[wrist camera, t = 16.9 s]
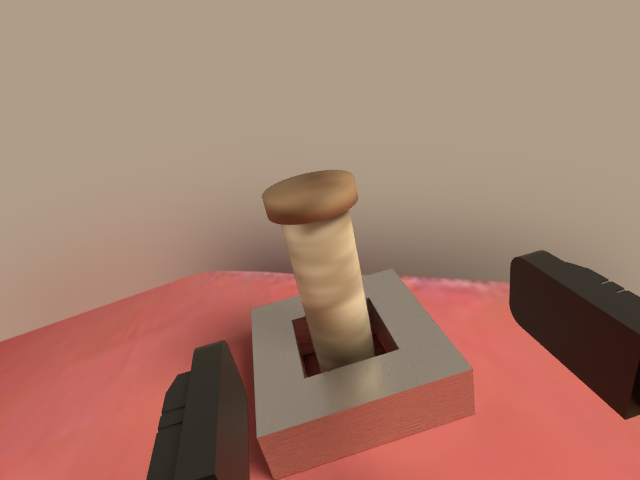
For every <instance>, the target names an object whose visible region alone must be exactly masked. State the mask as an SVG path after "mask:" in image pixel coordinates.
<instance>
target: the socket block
mask: <svg viewBox="0 0 640 480" xmlns="http://www.w3.org/2000/svg"><path fill="white" fill-rule="evenodd" d="M362 283H363V288H364V294H365V299H366V305H367V310H368V316H369V321H370V326H371V332H372V335H373V334H376V335H377V337H378V339H379V341H380V343H381V345H382V347H383V348H384V350H385V352H386V354H382V355H379V356H376V357H373V358H369V359H366V360H363V361H360V362H357V363H353V364H350V365H347V366H344V367H340V368H337V369H334V370H331V371H327V372H324V373H321V374H318V375H314V376H311V377H308V378H307V374H306V370H305V365H304V361H303V356H304V355H307V354H311V353H314V352H315V349H314V346H313V342H312V338H311V334H310V331H309V327H308V323H307V320H306V316H305V312H304V308H303V305H302V301H301V297H300V295H298V296H295V297H291V298H288V299H285V300H281V301H278V302H274V303H271V304H267V305H264V306H260V307H257V308H253V309H251V322H252V344H253V366H254V388H255V411H256V433H257V440H258V442H259V445H260V447H261V450H262V452H263V454H264V457H265V459H266V462H267V464H268V466H269V469H270V471H271V474H272V476H273V478H274V480H276V479H279V478H282V477H285V476H288V475H291V474H294V473H297V472H300V471H303V470H306V469H309V468H312V467H315V466H318V465H321V464H324V463H327V462H330V461H333V460H336V459H339V458H342V457H345V456H348V455H351V454H354V453H357V452H360V451H363V450H366V449H369V448H372V447H375V446H378V445H381V444H385V443H388V442H391V441H394V440H397V439H400V438H403V437H406V436H409V435H412V434H415V433H418V432H421V431H424V430H427V429H430V428H433V427H436V426H439V425H442V424H445V423H448V422H451V421H454V420H457V419H460V418H463V417H466V416H469V415H472V414H475V406H474V385H473V369H472V367H471V366H470V365H469V364H468V362H467V361H466V360H465V359H464V357H463V356H462V355H461V354H460V352H459V351H458V350H457V349H456V347H455V346H454V345H453V344H452V342H451V341H450V340H449V339H448V337H447V336H446V335H445V334H444V332H443V331H442V330H441V329H440V327H439V326H438V325H437V324H436V322H435V321H434V320H433V319H432V317H431V316H430V315H429V314H428V312H427V311H426V310H425V309H424V307H423V306H422V305H421V304H420V303H419V301H418V300H417V299H416V298H415V296H414V295H413V294H412V293H411V291H410V290H409V289H408V288H407V286H406V285H405V284H404V283H403V281H402V280H401V279H400V278H399V276H398V275H397V274H396V273H395V271H394V270H393V269H389V270H385V271H382V272H378V273H375V274H371V275H368V276H364V277H362Z"/></svg>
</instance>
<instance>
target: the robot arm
mask: <svg viewBox="0 0 640 480" xmlns="http://www.w3.org/2000/svg"><path fill="white" fill-rule="evenodd" d="M510 268H511V269H510V299H509V305H510V310H511V313H512V315H513V317H514V319H515V320H516V322H517V323H518V324H519V325H520V326H521V327H522V328H523V329H524V330H525V331H526V332H528V333H529V334H530V335H531V336H532V337H533V338H534V339H535V340H537V341H538V342H539V343H540V344H541V345H542V346H543V347H544V348H545V349H547V350H548V351H549V352H550V353H551V354H552V355H553V356H554V357H556V358H557V359H558V360H559V361H560V362H561V363H562V364H563V365H564V366H566V367H567V368H568V369H569V370H570V371H571V372H572V373H573V374H574V375H576V376H577V377H578V378H579V379H580V380H581V381H582V382H583V383H585V384H586V385H587V386H588V387H589V388H590V389H591V390H592V391H593V392H595V393H596V394H597V395H598V396H599V397H600V398H601V399H602V400H604V401H605V402H606V403H607V404H608V405H609V406H610V407H611V408H612V409H614V410H615V411H616V412H617V413H618V414H619V415H620V416H621V417H622V418H624V419H625V420H626V419H629V418H632V417H635V416H638V415H640V297H639V296H637V295H635V294H633V293H632V292H630V291H625V290H624V288H623V287H621V286H619V285H617V284H615V283H614V282H609V281H608V279H606V278H605V277H603V276H601V275H599V274H598V273H596V272H594V271H592V270H590V269H588V268H584V267H581V266H578V265H575V264H571V263H568V262H564V261H562V260H560V259H559V258H557V257H555V256H553V255H552V254H550V253H548V252H546V251H542V250H540V251H536V252H533V253H529V254H526V255H523V256H519V257H515V258H514V259H513V260H512V262H511V267H510ZM161 413H162V416H161V417H160V421H159V426H158V433H157V435H156V439H155V444H154V448H153V452H152V457H151V461H150V466H149V470H148V475H147V479H146V480H250V475H249V441H248V407H247V399H246V393H245V389H244V385H243V382H242V380H241V377H240V375H239V372H238V370H237V367H236V364H235V362H234V359H233V357H232V354H231V352H230V349H229V347H228V344H227V343H226V341H225V340H223V341H219V342H216V343H212V344H209V345H205V346H202V347H198V348H196V349H195V350H194V354H193V360H192V366H191V371H189V372H186V373H182V374H179V375H177V377H176V378H175V380H174V381H173V383H172V385H171V386H170V388H169V389H168V391H167V392H166V395H165V399H164V403H163V408H162V412H161Z"/></svg>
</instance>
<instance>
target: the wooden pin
mask: <svg viewBox="0 0 640 480" xmlns="http://www.w3.org/2000/svg"><path fill="white" fill-rule="evenodd" d="M262 198H263V202H264V206H265V209H266V213H267V216H268V219H269V220H270V221H272V222H274V223H277V224H281V227H282V231H283V234H284V238H285V241H286V245H287V249H288V253H289V257H290V260H291V264H292V268H293V271H294V275H295V279H296V282H297V286H298V290H299V294H300V297H301V301H302V305H303V308H304V312H305V316H306V320H307V323H308V327H309V331H310V334H311V338H312V342H313V346H314V349H315V353H316V357H317V360H318V364H319V368H320V372H321V373H324V372H327V371H331V370H334V369H337V368H340V367H344V366H347V365H350V364H353V363H357V362H360V361H363V360H366V359H369V358H373V357H376V354H375V348H374V343H373V337H372V332H371V326H370V321H369V316H368V310H367V305H366V299H365V294H364V288H363V283H362V277H361V272H360V266H359V261H358V255H357V250H356V245H355V239H354V234H353V228H352V223H351V217H350V212H349V209H350V208H351V207H352V206H353V205H355V203H356V202H357V200H358V195H357V190H356V183H355V178H354V175H353V174H352V173H351V172H348V171H342V170H326V171H317V172H311V173H306V174H302V175H298V176H295V177H291V178H289V179H286V180H283V181H281V182H278V183H276V184H274V185H273V186H271V187H269V188H268V189H266V190H265V191H264V193H263V194H262Z"/></svg>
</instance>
